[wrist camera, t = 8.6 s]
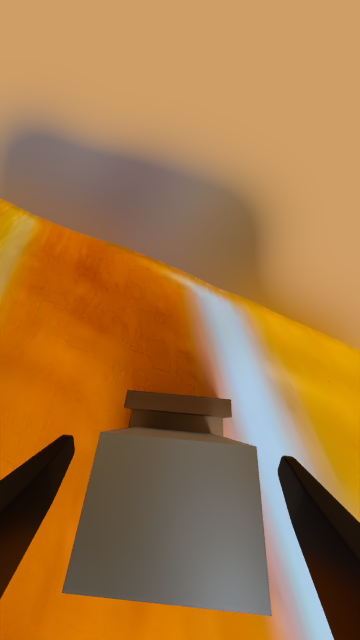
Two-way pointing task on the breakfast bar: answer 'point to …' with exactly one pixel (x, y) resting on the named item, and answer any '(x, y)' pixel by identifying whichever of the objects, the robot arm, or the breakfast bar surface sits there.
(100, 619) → the breakfast bar surface
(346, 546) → the robot arm
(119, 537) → the grey rectangular block
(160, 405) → the stand
